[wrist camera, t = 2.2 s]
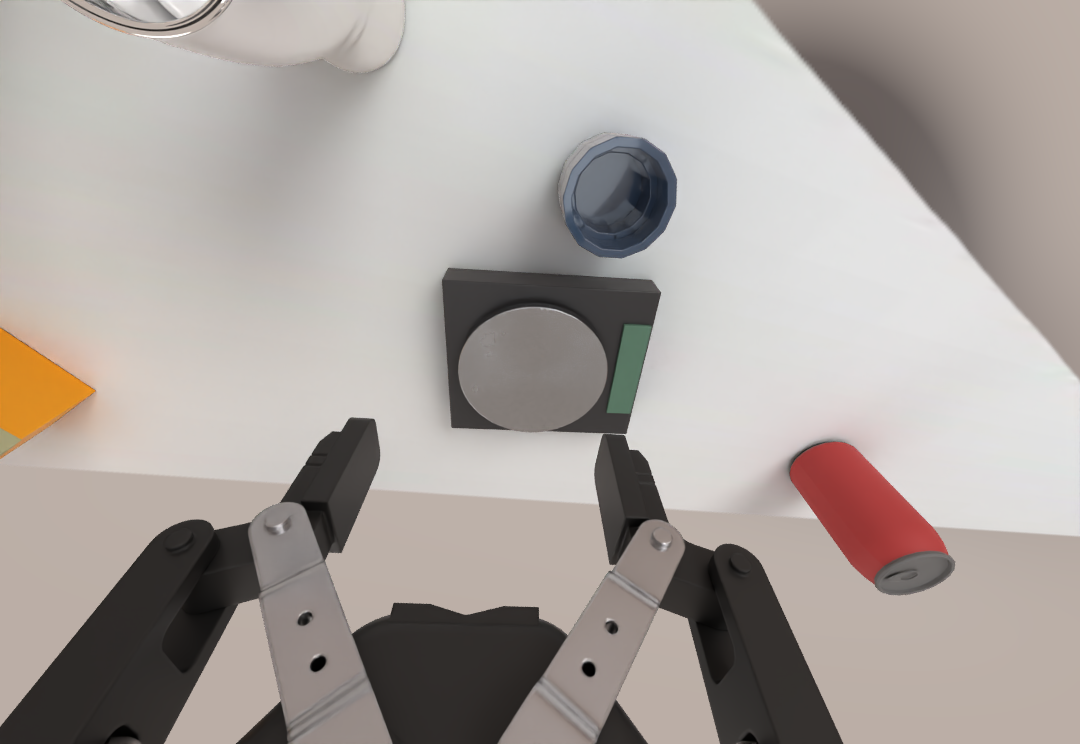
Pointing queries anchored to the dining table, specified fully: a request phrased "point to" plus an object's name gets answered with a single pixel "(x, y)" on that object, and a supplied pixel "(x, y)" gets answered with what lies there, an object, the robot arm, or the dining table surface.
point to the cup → (617, 194)
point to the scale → (602, 302)
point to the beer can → (870, 520)
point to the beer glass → (263, 28)
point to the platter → (532, 367)
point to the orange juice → (32, 393)
